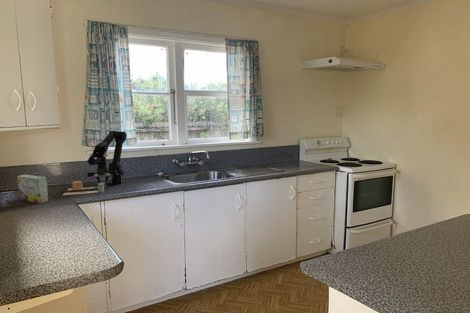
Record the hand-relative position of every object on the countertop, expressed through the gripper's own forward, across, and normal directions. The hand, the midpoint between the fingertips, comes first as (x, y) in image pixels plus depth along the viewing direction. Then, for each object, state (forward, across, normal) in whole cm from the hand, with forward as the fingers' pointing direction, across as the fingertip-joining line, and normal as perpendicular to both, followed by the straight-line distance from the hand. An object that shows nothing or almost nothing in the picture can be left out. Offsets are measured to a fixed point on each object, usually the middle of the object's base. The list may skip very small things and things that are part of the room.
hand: (103, 185), depth 229 cm
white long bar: (+2, -10, -13) cm, 17 cm away
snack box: (+2, -37, -21) cm, 43 cm away
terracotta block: (+1, -16, 0) cm, 17 cm away
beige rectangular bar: (+2, -10, 0) cm, 11 cm away
